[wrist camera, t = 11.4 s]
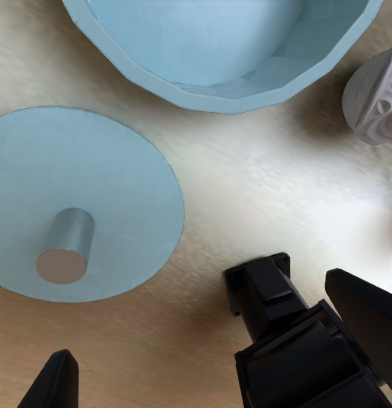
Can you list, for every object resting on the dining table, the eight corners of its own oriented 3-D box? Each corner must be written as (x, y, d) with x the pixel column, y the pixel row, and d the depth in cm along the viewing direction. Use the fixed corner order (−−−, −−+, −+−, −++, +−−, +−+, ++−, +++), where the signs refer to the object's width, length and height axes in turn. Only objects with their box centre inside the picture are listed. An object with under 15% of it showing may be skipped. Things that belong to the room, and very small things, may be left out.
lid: (198, 260, 25) (215, 312, 20) (25, 313, 23) (-2, 382, 18) (151, 76, 17) (161, 87, 12) (-117, 140, 15) (-231, 182, 10)
